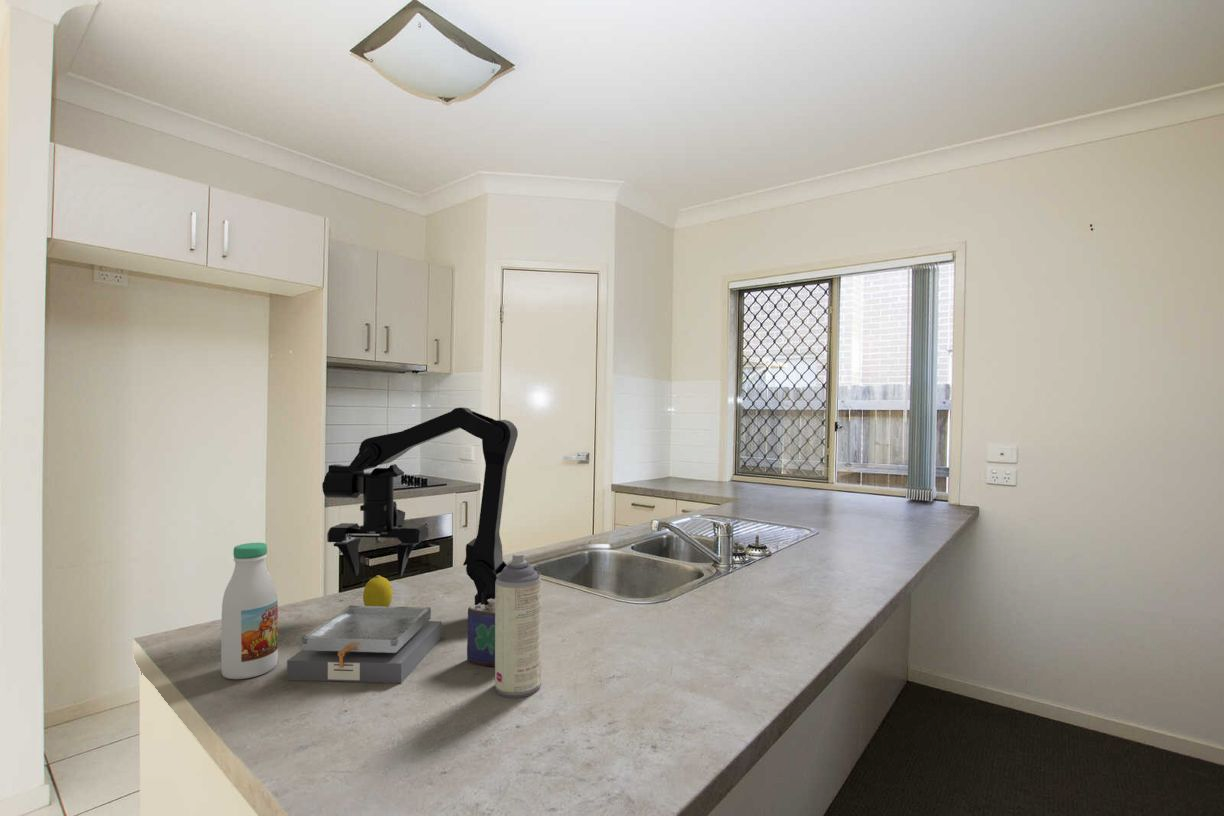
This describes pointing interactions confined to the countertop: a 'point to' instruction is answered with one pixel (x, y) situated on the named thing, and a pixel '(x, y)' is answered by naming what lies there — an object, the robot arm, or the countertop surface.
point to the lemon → (377, 592)
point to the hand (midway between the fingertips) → (378, 575)
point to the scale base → (366, 661)
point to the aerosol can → (517, 629)
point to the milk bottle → (249, 616)
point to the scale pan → (367, 630)
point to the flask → (481, 634)
